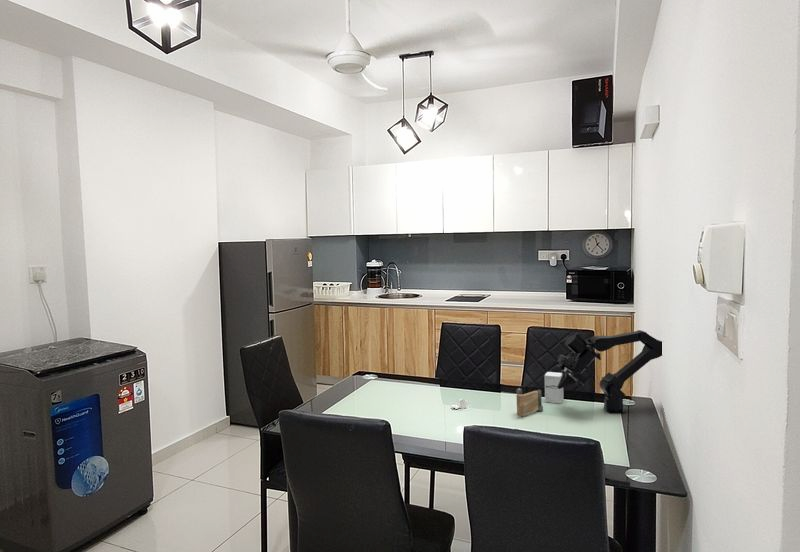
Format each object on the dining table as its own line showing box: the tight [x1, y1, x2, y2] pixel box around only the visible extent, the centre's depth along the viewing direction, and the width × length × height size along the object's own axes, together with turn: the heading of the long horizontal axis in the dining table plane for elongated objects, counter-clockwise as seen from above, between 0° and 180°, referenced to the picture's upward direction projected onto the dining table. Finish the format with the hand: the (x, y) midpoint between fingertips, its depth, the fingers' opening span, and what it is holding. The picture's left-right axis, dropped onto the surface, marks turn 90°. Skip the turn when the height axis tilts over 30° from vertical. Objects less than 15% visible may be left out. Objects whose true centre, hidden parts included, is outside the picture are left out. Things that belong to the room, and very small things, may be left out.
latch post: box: [516, 387, 523, 396], centre depth 212 cm, size 2×2×11 cm
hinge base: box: [536, 405, 544, 413], centre depth 216 cm, size 3×3×2 cm
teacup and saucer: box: [450, 398, 470, 409], centre depth 224 cm, size 9×8×4 cm
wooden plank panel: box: [516, 389, 543, 417], centre depth 212 cm, size 2×14×8 cm, turn 126°
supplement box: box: [544, 371, 564, 404], centre depth 228 cm, size 7×7×13 cm
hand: (558, 388), depth 210 cm, fingers closed
